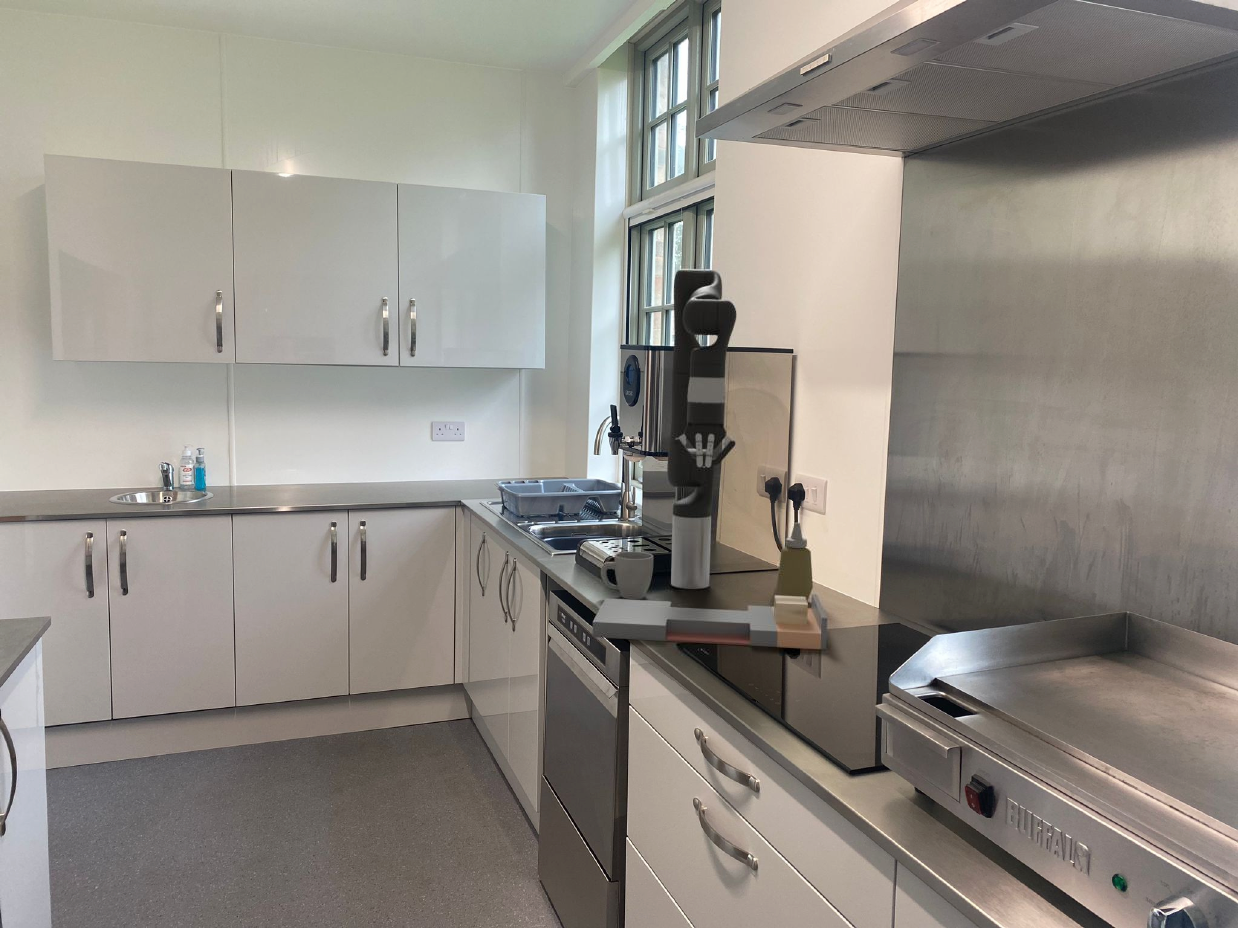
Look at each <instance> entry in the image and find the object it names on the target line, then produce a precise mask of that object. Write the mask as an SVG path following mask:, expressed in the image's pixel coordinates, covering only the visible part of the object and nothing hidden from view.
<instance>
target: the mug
mask: <svg viewBox="0 0 1238 928" xmlns="http://www.w3.org/2000/svg"><path fill="white" fill-rule="evenodd" d="M608 570H613V571H614V573H615V579H616V584H613V583H611V582H610V581H609V578H608V575H607V571H608ZM653 570H654V555H653V554H651V553H648V552H646V551H645V552H644V551H621V552H618V553H616V554H615V555H614V561H606V562H604V563H603V564H602V566H601V567H600V577H601V579H602V581H603V583H604V584H605V586H606V587H607V588H610V589H613V590H619V592H620V595H621V598H622V599H625V598H626V599H627V600H644V599H645V596H646V594H647V591H648V590H649V587H650V585H651V581H652V576H653Z"/></svg>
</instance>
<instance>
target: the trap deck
mask: <svg viewBox="0 0 1238 928" xmlns="http://www.w3.org/2000/svg"><path fill="white" fill-rule="evenodd" d="M827 631H828V616H827V615H826V612H825V610H824V608H823V605H822V603H821V601H820V598H819V596H818V594H817V593H816V594H815V593H812V594H811V606H810V607H808V617H807V625H799V624H780V623H775V618H774V606H767V605H752V604H751V605H749V604H747V610H734V609H715V608H713V609H712V608H711V609H710V608H696V607H695V608H694V607H693V608H691V607H675V606H674V607H673V606H672V601H667V600H666V601H663V600H646V599H645V600H644V599H636V600H633V599H625V598H605V599H603V602H602V604H601V606H600V607H599V610H598V612H597V614H596V615H595V617H594V619H593V621H592V638H602V639H619V640H621V639H623V640H641V641H656V642H657V641H662V642H674V643H675V642H679V643H680V642H681V643H694V644H695V643H697V644H717V645H732V646H735V645H736V646H750V647H752V646H753V647H755V646H756V647H769V648H771V647H772V648H791V649H806V650H807V649H810V650H812V649H813V650H824V649H825V650H827V637H828V636H827V633H828V632H827Z"/></svg>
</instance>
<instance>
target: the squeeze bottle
mask: <svg viewBox="0 0 1238 928" xmlns="http://www.w3.org/2000/svg"><path fill="white" fill-rule="evenodd" d="M807 547H808V540H807V538H804V537H803V534H802V529H801V523H800V522H794V524H793V527H792V532H791V534H790V537H787V538H785V546H784V547H782V548H781V551H780V557H779V558H780V559H779V564H778V572H777V580H776V586H777V590H778V593H779V596H797V597H805V598H806V600H807V602H808V600H809V597H810V595H811V593H812V590H813V587H814V586H813V581H814V580H813V568H812V567H813V566H812V554H811V553H812V551H811V550H810V549H809V548H807Z"/></svg>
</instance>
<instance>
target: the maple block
mask: <svg viewBox="0 0 1238 928" xmlns="http://www.w3.org/2000/svg"><path fill="white" fill-rule="evenodd" d="M773 605H774V606H773V607H774V618H775V623H780V624H799V625H807V617H808V608H809V604H808V601H807V600H806V598H805V597H797V596H780V595H774V604H773Z"/></svg>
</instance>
